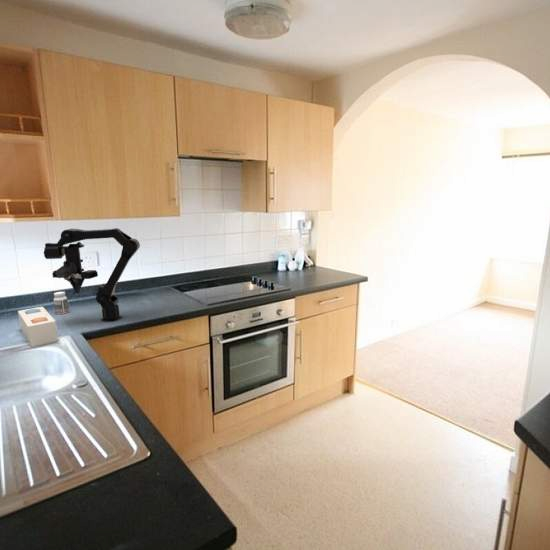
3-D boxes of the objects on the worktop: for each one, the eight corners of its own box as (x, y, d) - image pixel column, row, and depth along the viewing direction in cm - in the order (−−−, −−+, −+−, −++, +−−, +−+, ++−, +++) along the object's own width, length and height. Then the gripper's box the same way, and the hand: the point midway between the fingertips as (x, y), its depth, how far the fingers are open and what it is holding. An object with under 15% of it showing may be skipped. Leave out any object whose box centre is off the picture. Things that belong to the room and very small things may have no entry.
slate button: (42, 314, 156) (41, 309, 156) (33, 317, 152) (32, 312, 151) (33, 314, 157) (32, 308, 157) (24, 317, 153) (23, 311, 152)
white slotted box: (20, 329, 157) (17, 310, 155) (45, 324, 163) (42, 306, 161) (31, 347, 138) (27, 326, 136) (58, 340, 144) (55, 321, 142)
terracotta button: (49, 323, 145) (48, 317, 145) (40, 327, 141) (39, 321, 140) (40, 322, 146) (39, 316, 146) (30, 326, 142) (29, 320, 141)
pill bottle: (66, 310, 183) (63, 290, 181) (71, 312, 179) (68, 292, 177) (53, 313, 178) (50, 293, 176) (58, 315, 175) (55, 294, 173)
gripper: (39, 260, 155) (44, 296, 158) (78, 261, 151) (82, 298, 154) (60, 256, 165) (64, 290, 169) (96, 257, 161) (100, 292, 165)
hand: (77, 292), depth 164 cm, fingers closed
